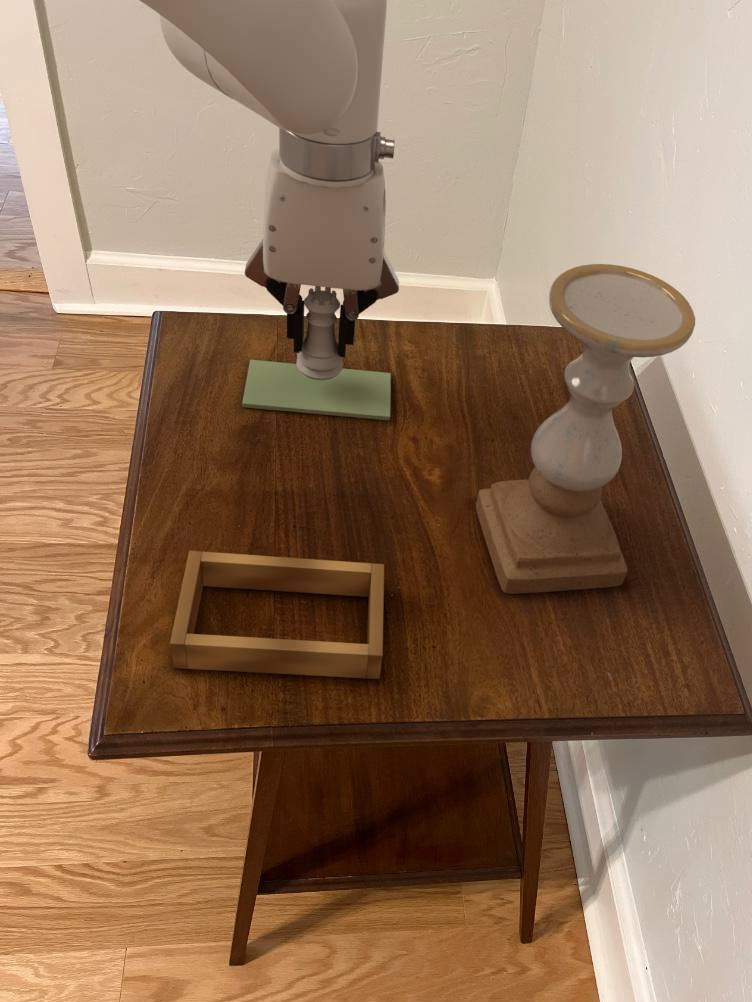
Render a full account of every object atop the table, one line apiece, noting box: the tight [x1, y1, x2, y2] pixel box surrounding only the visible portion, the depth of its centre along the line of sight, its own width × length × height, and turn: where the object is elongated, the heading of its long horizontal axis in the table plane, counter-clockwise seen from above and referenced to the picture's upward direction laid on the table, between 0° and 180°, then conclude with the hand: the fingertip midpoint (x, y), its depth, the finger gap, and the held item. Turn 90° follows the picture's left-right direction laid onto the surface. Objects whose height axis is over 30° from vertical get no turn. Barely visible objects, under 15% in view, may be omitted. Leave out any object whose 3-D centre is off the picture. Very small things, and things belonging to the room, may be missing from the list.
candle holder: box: [475, 263, 696, 595], centre depth 71 cm, size 11×11×24 cm
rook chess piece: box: [295, 286, 344, 381], centre depth 84 cm, size 4×4×8 cm
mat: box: [241, 359, 392, 421], centre depth 89 cm, size 14×7×1 cm, turn 92°
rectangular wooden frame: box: [169, 550, 385, 680], centre depth 69 cm, size 15×9×3 cm, turn 92°
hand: (320, 344), depth 85 cm, fingers closed on rook chess piece, 3 cm apart
